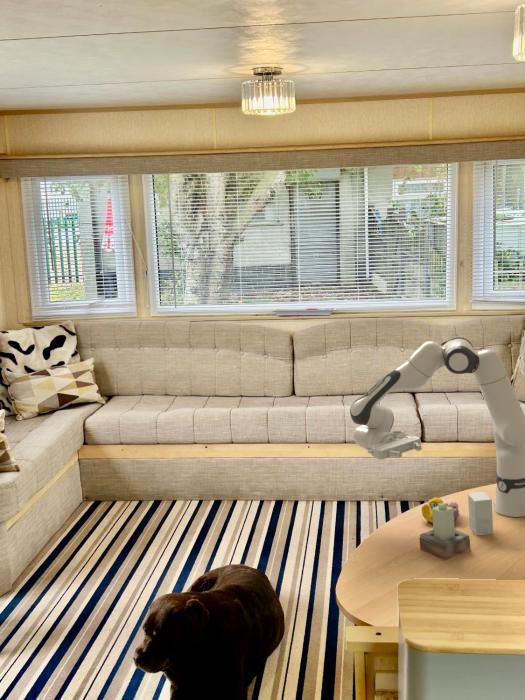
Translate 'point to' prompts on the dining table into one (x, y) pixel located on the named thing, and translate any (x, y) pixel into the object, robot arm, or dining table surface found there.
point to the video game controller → (454, 509)
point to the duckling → (430, 508)
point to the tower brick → (443, 522)
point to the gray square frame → (444, 544)
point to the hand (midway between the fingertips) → (410, 451)
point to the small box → (480, 513)
